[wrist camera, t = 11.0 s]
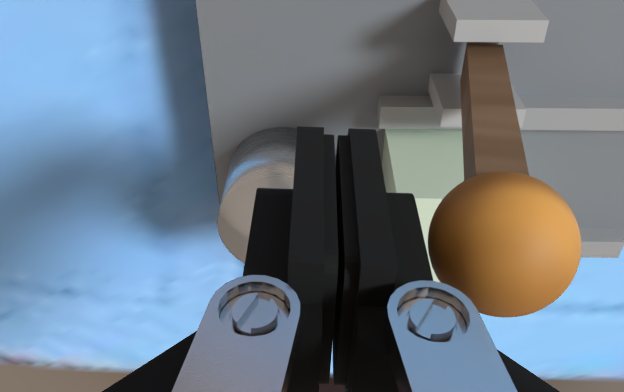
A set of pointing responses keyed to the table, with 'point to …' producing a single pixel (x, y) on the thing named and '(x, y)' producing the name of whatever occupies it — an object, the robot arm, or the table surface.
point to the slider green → (423, 168)
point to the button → (254, 182)
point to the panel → (429, 82)
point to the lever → (500, 205)
